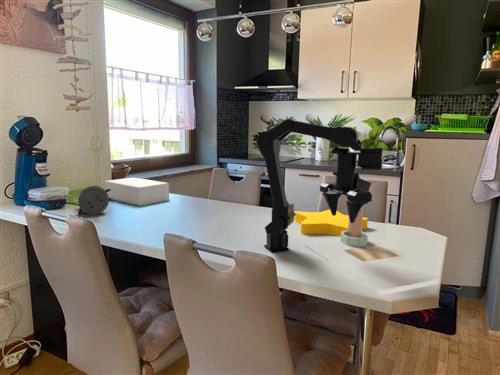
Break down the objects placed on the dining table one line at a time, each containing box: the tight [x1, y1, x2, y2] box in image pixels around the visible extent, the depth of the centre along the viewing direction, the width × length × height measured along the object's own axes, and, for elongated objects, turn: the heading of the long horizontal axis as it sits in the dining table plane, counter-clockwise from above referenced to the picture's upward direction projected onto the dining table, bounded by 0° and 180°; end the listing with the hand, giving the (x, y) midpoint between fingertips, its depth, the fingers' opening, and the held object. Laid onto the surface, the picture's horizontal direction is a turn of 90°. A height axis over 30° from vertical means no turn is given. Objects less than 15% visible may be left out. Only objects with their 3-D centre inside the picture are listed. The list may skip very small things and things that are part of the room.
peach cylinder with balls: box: [347, 208, 364, 238], centre depth 126 cm, size 5×5×13 cm
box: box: [104, 177, 170, 207], centre depth 195 cm, size 19×30×10 cm, turn 54°
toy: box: [77, 185, 110, 215], centre depth 165 cm, size 17×13×30 cm
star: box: [294, 208, 369, 237], centre depth 147 cm, size 30×4×29 cm
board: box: [343, 245, 399, 262], centre depth 116 cm, size 14×10×1 cm
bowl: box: [339, 231, 369, 248], centre depth 127 cm, size 9×9×4 cm
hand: (342, 219), depth 111 cm, fingers open, 9 cm apart
